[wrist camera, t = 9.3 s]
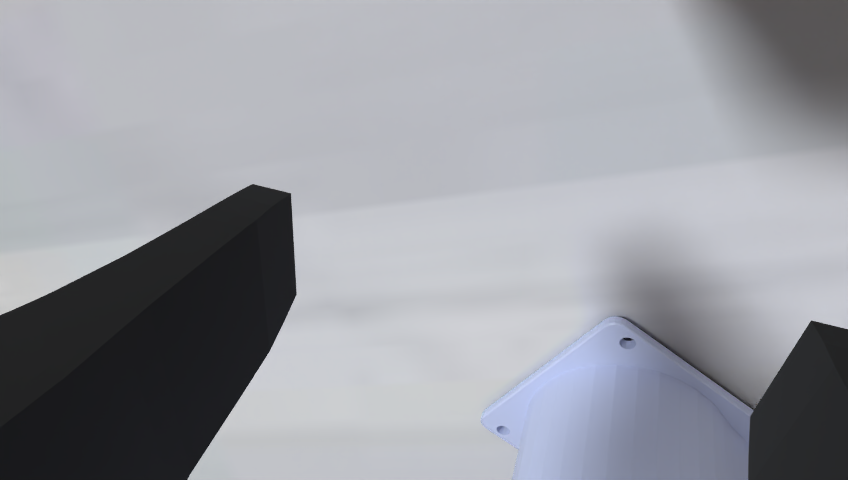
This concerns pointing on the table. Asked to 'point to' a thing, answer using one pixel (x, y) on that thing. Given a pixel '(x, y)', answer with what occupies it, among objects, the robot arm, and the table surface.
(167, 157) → the table surface
